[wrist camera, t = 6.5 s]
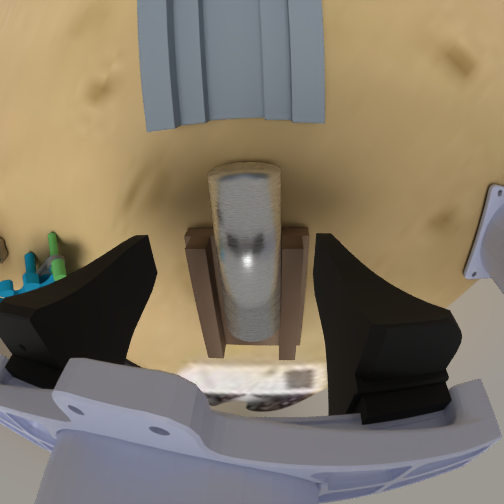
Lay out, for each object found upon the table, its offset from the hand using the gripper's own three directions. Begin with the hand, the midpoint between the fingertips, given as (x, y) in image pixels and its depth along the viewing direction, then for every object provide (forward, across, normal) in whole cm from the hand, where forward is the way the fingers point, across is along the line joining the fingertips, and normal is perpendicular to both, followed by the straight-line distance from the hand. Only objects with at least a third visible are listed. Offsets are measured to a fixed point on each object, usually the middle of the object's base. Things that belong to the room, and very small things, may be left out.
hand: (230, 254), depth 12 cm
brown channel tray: (+6, 0, +7) cm, 9 cm away
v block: (+6, 0, -9) cm, 11 cm away
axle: (+3, 0, +2) cm, 4 cm away
